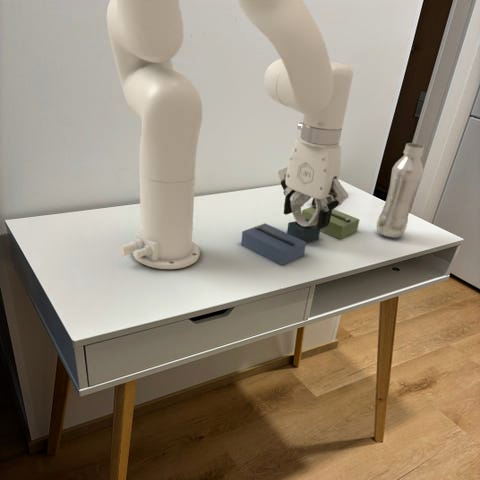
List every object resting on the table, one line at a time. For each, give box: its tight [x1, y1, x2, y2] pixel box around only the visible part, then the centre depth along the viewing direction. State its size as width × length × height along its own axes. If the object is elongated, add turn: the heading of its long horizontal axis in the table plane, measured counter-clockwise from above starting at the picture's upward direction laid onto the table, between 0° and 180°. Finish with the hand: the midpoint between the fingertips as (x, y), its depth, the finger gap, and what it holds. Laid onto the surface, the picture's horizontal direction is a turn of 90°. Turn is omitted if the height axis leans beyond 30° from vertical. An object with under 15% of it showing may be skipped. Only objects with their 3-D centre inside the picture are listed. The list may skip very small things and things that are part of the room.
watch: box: [286, 191, 323, 244], centre depth 102 cm, size 6×8×11 cm
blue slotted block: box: [240, 223, 307, 266], centre depth 98 cm, size 7×11×4 cm, turn 46°
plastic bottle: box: [376, 142, 425, 239], centre depth 106 cm, size 6×7×20 cm
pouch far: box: [301, 205, 361, 240], centre depth 111 cm, size 7×11×4 cm, turn 46°
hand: (305, 219), depth 103 cm, fingers closed on watch, 8 cm apart
